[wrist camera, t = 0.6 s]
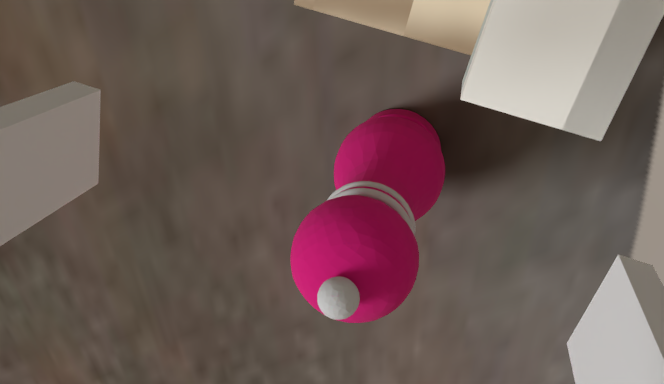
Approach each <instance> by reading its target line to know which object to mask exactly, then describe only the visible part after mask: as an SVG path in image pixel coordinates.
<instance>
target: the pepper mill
mask: <svg viewBox="0 0 664 384" xmlns="http://www.w3.org/2000/svg"><path fill="white" fill-rule="evenodd" d="M444 179H445V163H444V158H443V154H442V152H441V144H440V140H439V137H438V135H437V133H436V131H435V129H434V128H433V127H432V125H431V124H430V123H429V122H428V121H427V120H426V119H425V118H423V117H422V116H420V115H419V114H417V113H415V112H412V111H409V110H404V109H389V110H385V111H382V112H379V113H377V114H375V115H374V116H372V117H371V118H370V119H368V120H367V121H366V122H364V123H362V124H360V125H359V126H357V127H356V128H355V129H353V130H352V131H351V132H350V133H349V134H348V135H347V137H346V138H345V140H344V141H343V143H342V144H341V147H340V149H339V152H338V154H337V156H336V160H335V164H334V183H335V187H336V191H335V192H334V193H333V194H332V195H331V196H330V197H329V198H328V200H327V201H326V202H324V203H322V204H321V205H319V206H318V207H316V208H314V209H313V210H312V211H311V212H310V213H309V214H308V215H307V216H306V217H305V219H304V220H303V221H302V222H301V224H300V226H299V228H298V230H297V232H296V234H295V236H294V240H293V244H292V249H291V269H292V275H293V278H294V281H295V283H296V285H297V287H298V289H299V291H300V292H301V294H302V295H303V296H304V298H305V299H306V300H307V302H308V303H310V304H311V305H312V306H313V307H314V308H315V309H316V310H318V311H319V312H321V313H322V314H324V315H326V316H327V317H329V318H331V319H335V320H339V321H343V322H348V323H362V322H369V321H373V320H377V319H379V318H381V317H383V316H385V315H388V314H389V313H391V312H392V311H393V310H395V309H396V308H397V307H398V306H399V305H400V304H401V303H402V302H403V301H404V300H405V298H406V297H407V296H408V294H409V293H410V291H411V289H412V288H413V285H414V282H415V280H416V276H417V272H418V268H419V252H418V245H417V242H416V239H415V237H414V236H415V221H416V220H417V219H419V218H420V217H422V216H423V215H424V214H425V213H426V212H427V211H429V210H430V209H431V207H432V206H433V205H434V204H435V202H436V201H437V199H438V197H439V195H440V192H441V190H442V186H443V183H444Z"/></svg>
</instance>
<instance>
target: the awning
mask: <svg viewBox="0 0 664 384" xmlns="http://www.w3.org/2000/svg"><path fill="white" fill-rule="evenodd" d="M663 15H664V0H491V1H490V3H489V6H488V9H487V12H486V15H485V18H484V21H483V23H482V26H481V29H480V32H479V35H478V38H477V41H476V43H475V46H474V49H473V52H472V55H471V58H470V61H469V63H468V66H467V69H466V72H465V75H464V78H463V81H462V89H461V98H460V100H463V101H466V102H470V103H473V104H476V105H480V106H483V107H487V108H490V109H493V110H497V111H500V112H503V113H507V114H510V115H514V116H517V117H520V118H524V119H527V120H530V121H534V122H537V123H540V124H544V125H547V126H551V127H554V128H557V129H561V130H564V131H567V132H571V133H574V134H578V135H581V136H584V137H588V138H591V139H594V140H598V141H602V138H603V136H604V134H605V132H606V130H607V128H608V126H609V124H610V122H611V120H612V118H613V116H614V114H615V112H616V110H617V108H618V106H619V104H620V102H621V100H622V98H623V96H624V94H625V92H626V90H627V88H628V86H629V84H630V82H631V80H632V78H633V76H634V74H635V72H636V70H637V68H638V66H639V64H640V62H641V60H642V58H643V56H644V53H645V51H646V49H647V47H648V45H649V43H650V41H651V39H652V37H653V35H654V33H655V31H656V29H657V27H658V25H659V23H660V21H661V19H662V17H663Z"/></svg>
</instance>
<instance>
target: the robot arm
mask: <svg viewBox="0 0 664 384" xmlns="http://www.w3.org/2000/svg"><path fill="white" fill-rule="evenodd" d="M99 131H100V90H99V89H96V88H93V87H90V86H87V85H84V84H80V83H77V82H74V81H73V82H71V83H68V84H65V85H62V86H59V87H56V88H54V89H51V90H48V91H45V92H42V93H39V94H36V95H34V96H31V97H28V98H25V99H22V100H19V101H16V102H14V103H11V104H8V105H5V106H2V107H0V246H1V245H3V244H4V243H6V242H7V241H9V240H10V239H12V238H14V237H15V236H17V235H18V234H20V233H21V232H23V231H25V230H26V229H28V228H29V227H31V226H32V225H34V224H35V223H37V222H39V221H40V220H42V219H43V218H45V217H46V216H48V215H50V214H51V213H53V212H54V211H56V210H57V209H59V208H61V207H62V206H64V205H65V204H67V203H68V202H70V201H71V200H73V199H75V198H76V197H78V196H79V195H81V194H82V193H84V192H86V191H87V190H89V189H90V188H92V187H93V186H95V185H97V184H98V174H99ZM567 346H568V351H569V355H570V360H571V365H572V369H573V374H574V379H575V384H664V286H663V284H662V282H661V281H660V279H659V277H658V275H657V273H656V271H655V269H654V267H653V266H652V265H650V264H646V263H643V262H640V261H637V260H634V259H631V258H628V257H624V256H621V255H618V256H617V258H616V259H615V261H614V263H613V265H612V266H611V268H610V270H609V272H608V273H607V275H606V277H605V278H604V280H603V282H602V284H601V285H600V287H599V289H598V291H597V292H596V294H595V296H594V297H593V299H592V301H591V303H590V304H589V306H588V308H587V309H586V311H585V313H584V315H583V316H582V318H581V320H580V322H579V323H578V325H577V327H576V328H575V330H574V332H573V334H572V335H571V337H570V339H569V341H568V342H567Z"/></svg>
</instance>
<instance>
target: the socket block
mask: <svg viewBox="0 0 664 384" xmlns="http://www.w3.org/2000/svg"><path fill="white" fill-rule="evenodd" d="M490 1H491V0H295V1H294V5H297V6H301V7H304V8H308V9H311V10H315V11H318V12H322V13H325V14H329V15H332V16H336V17H339V18H342V19H346V20H349V21H353V22H356V23H360V24H363V25H367V26H370V27H374V28H377V29H381V30H384V31H388V32H391V33H395V34H398V35H402V36H405V37H409V38H412V39H416V40H419V41H423V42H426V43H430V44H433V45H437V46H440V47H444V48H447V49H451V50H454V51H458V52H461V53H465V54H468V55H472V52H473V49H474V46H475V43H476V41H477V38H478V35H479V32H480V29H481V26H482V23H483V21H484V18H485V15H486V12H487V9H488V6H489V3H490Z"/></svg>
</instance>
